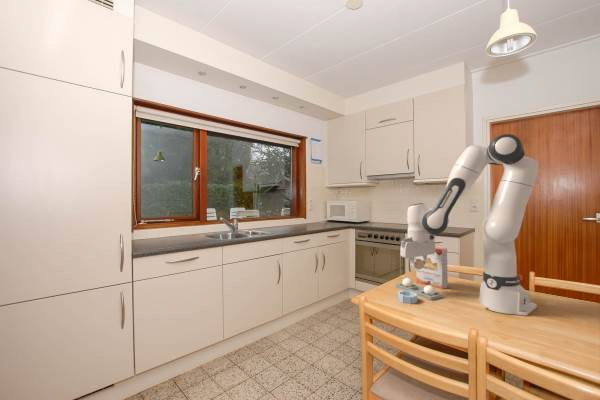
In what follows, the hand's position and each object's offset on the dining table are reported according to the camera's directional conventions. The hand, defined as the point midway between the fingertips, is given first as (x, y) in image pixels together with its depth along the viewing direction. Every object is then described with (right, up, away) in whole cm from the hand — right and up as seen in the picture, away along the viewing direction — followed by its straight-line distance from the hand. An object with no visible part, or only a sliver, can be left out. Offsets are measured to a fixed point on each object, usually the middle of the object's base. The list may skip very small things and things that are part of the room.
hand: (418, 265), depth 132 cm
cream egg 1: (-3, -13, +6) cm, 15 cm away
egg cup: (-10, -14, -10) cm, 20 cm away
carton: (0, -14, 0) cm, 14 cm away
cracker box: (+12, -14, +11) cm, 21 cm away
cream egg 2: (+3, -13, -6) cm, 14 cm away
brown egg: (0, -2, 0) cm, 2 cm away
